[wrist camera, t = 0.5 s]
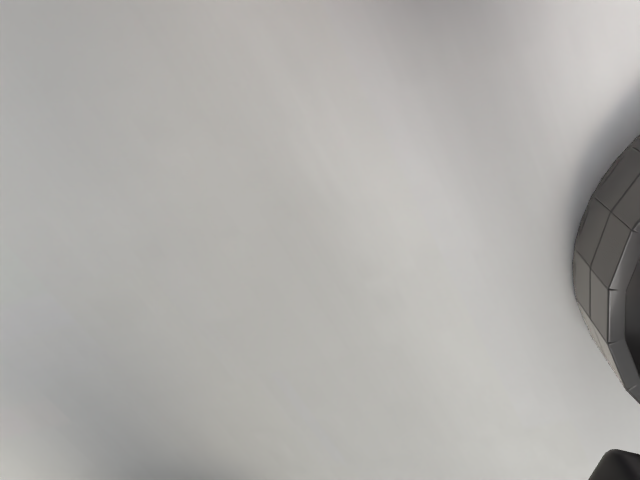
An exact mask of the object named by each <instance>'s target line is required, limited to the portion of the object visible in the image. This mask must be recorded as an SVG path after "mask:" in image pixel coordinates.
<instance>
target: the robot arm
mask: <svg viewBox="0 0 640 480" xmlns="http://www.w3.org/2000/svg"><path fill="white" fill-rule="evenodd" d="M588 480H640V455H639V454H635V453H631V452H627V451H622V450H618V449H612V450H609V451H608V452H606V453H605V454H604V456H603V457H602V459H601V460H600V462H599V464H598V465H597V467H596V468H595V470H594V471H593V473H592V475H591V476H590V478H589V479H588Z"/></svg>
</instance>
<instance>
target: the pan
mask: <svg viewBox="0 0 640 480" xmlns="http://www.w3.org/2000/svg"><path fill="white" fill-rule="evenodd" d="M573 283H574V289H575V294H576V300H577V303H578V306H579V309H580V312H581V314H582V317H583V319H584V321H585V323H586V325H587V327H588V330H589V332H590V334H591V337H592V339H593V340H594V342H595V344H596V345H597V347H598V348H599V350H600V351H601V353H602V354H603V356H604V357H605V359H606V360H607V362H608V363H609V365H610V367H611V368H612V370H613V371H614V373H615V374H616V376H617V377H618V379H619V380H620V382H621V383H622V385H623V387H624V388H625V389H626V391H627V392H628V393H629V394H630V395H631V396H632V397H633V398H634V399H635V400H636V401H637V402H638V403H639V404H640V135H639V136H638V137H637V138H636V139H635V140H634V141H633V142H632V143H631V144H630V145H629V146H628V147H627V148H626V149H625V151H624V152H623V153H622V154H621V155H620V156H619V157H618V158H617V159H616V161H615V162H614V163H613V165H612V166H611V167H610V169H609V170H608V171H607V173H606V174H605V175H604V177H603V178H602V180H601V182H600V183H599V185H598V187H597V188H596V190H595V192H594V194H593V195H592V197H591V199H590V201H589V203H588V206H587V208H586V210H585V213H584V215H583V217H582V220H581V223H580V227H579V230H578V234H577V238H576V241H575V249H574V257H573Z"/></svg>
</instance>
